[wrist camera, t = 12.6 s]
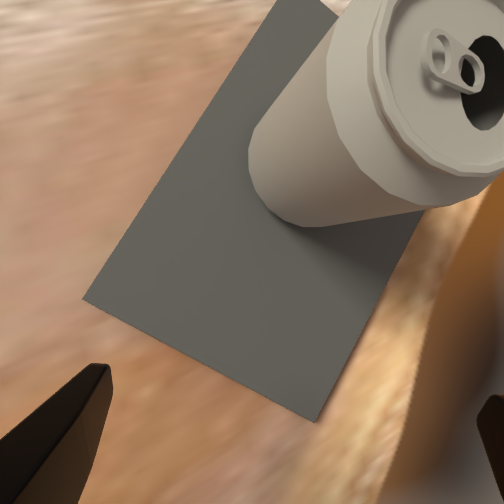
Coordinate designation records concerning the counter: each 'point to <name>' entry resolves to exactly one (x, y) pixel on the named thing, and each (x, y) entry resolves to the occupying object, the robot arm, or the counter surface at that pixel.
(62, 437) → the robot arm
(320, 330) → the bar mat
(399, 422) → the counter surface
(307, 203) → the can
